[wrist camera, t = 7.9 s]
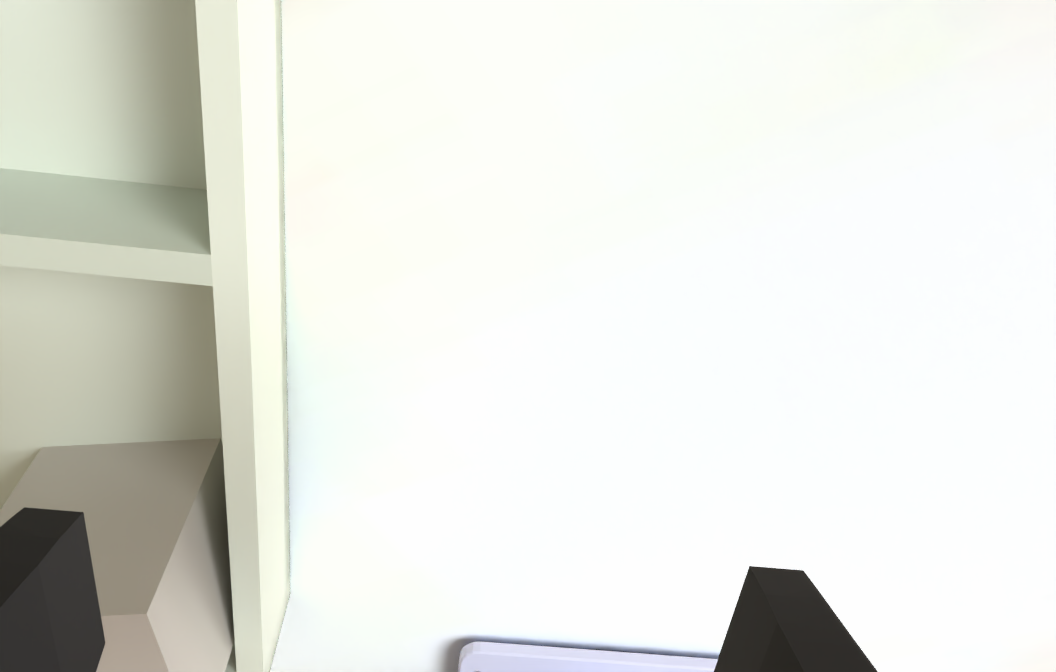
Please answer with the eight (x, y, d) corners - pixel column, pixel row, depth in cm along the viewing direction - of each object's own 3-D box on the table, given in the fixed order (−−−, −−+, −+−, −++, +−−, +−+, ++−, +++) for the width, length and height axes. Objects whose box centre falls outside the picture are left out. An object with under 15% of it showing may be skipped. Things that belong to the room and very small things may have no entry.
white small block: (257, 567, 23) (199, 752, 19) (95, 574, 23) (2, 760, 19) (220, 438, 21) (146, 613, 17) (42, 447, 21) (-76, 624, 17)
